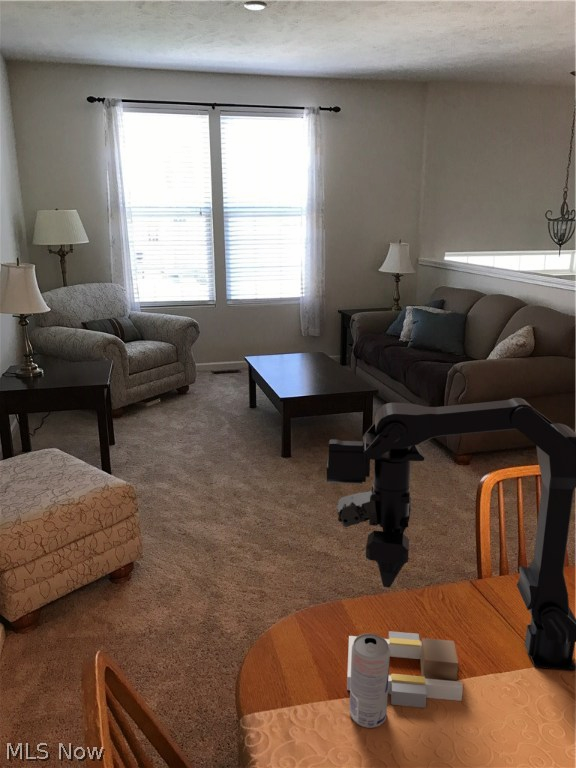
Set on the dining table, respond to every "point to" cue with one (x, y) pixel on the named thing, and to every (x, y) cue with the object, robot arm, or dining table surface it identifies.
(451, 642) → the block
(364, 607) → the dining table surface
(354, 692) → the energy drink
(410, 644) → the white u-shaped frame
